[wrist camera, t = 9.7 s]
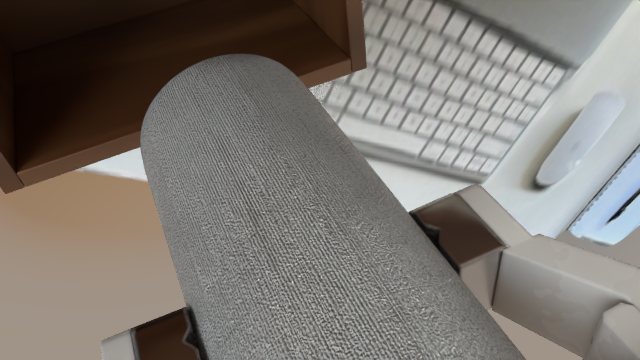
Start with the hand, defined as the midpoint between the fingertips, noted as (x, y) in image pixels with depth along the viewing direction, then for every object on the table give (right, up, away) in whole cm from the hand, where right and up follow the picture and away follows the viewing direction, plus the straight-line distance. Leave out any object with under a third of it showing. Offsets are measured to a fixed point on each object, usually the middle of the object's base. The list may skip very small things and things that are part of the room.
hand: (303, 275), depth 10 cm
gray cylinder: (-2, +3, +4) cm, 5 cm away
